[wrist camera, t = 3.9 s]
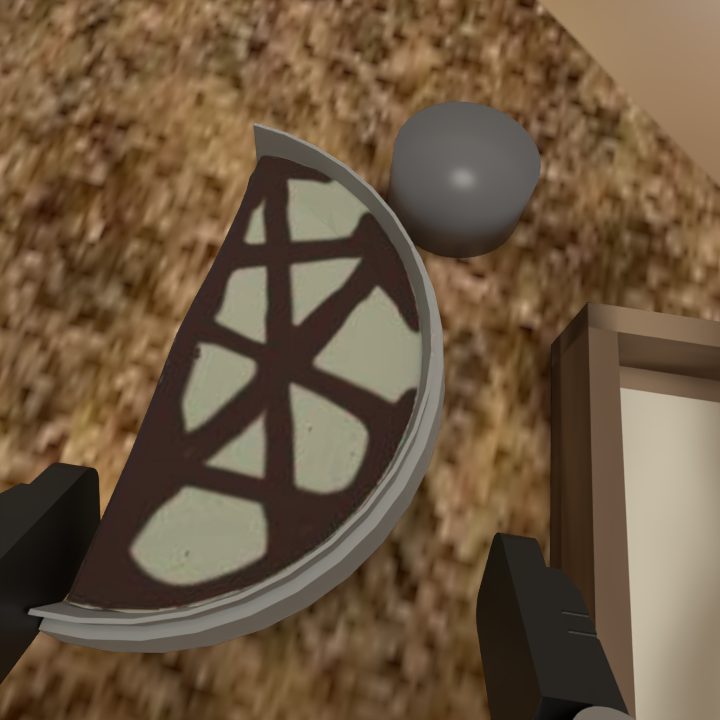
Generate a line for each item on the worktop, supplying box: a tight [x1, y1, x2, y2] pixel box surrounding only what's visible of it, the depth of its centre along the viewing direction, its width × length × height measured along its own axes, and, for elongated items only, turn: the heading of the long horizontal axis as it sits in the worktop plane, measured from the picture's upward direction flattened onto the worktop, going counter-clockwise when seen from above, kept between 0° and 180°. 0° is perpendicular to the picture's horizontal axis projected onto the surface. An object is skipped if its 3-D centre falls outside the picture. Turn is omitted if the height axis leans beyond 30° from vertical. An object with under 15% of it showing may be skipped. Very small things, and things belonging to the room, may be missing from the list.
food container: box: [28, 123, 445, 653], centre depth 16 cm, size 12×6×10 cm, turn 165°
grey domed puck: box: [387, 102, 541, 258], centre depth 25 cm, size 6×6×3 cm
